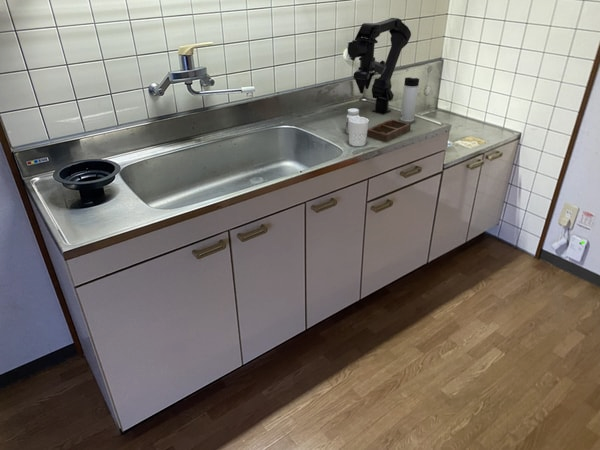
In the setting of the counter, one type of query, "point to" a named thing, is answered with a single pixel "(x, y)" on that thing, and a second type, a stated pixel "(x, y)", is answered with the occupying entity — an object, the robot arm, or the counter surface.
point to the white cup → (358, 131)
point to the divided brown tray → (388, 130)
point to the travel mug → (409, 100)
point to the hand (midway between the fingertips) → (364, 91)
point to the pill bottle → (351, 113)
